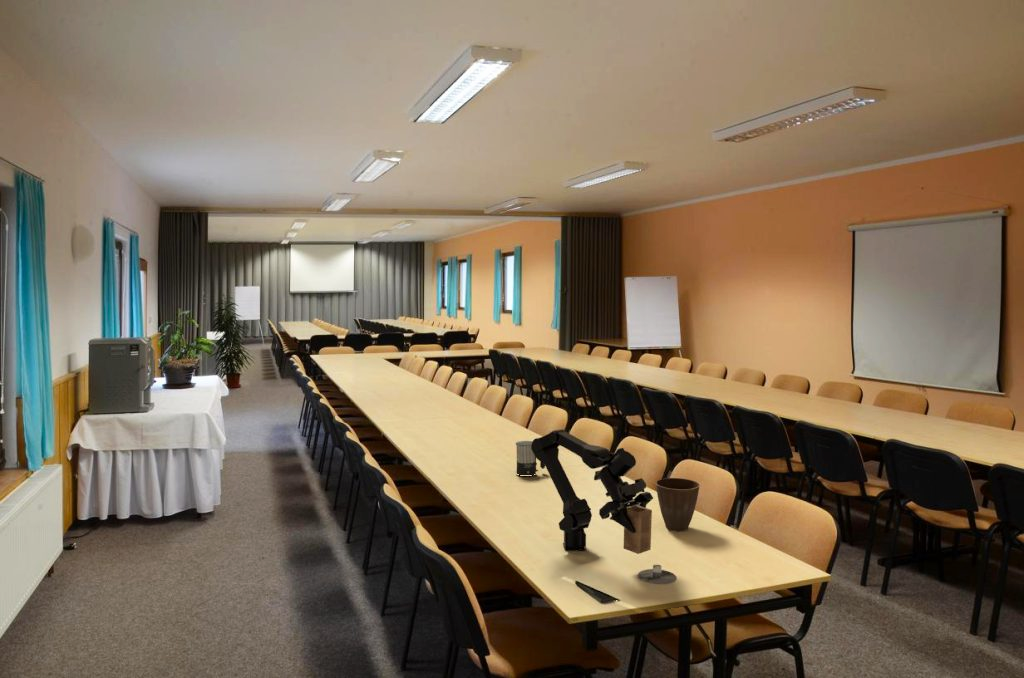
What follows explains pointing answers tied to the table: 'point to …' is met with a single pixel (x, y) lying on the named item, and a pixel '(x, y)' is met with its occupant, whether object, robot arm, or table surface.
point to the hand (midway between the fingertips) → (641, 530)
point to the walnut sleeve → (638, 530)
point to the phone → (596, 593)
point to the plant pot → (677, 501)
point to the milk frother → (526, 459)
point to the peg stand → (657, 575)
